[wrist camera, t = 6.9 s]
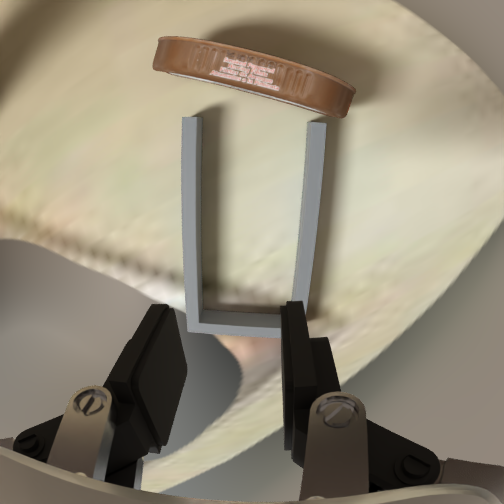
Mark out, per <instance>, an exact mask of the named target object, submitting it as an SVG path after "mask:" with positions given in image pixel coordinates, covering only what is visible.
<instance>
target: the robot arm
mask: <svg viewBox="0 0 504 504" xmlns="http://www.w3.org/2000/svg"><path fill="white" fill-rule="evenodd" d="M280 312H281V363H282V393H283V421H284V450H291V458H292V459H293V462H295V463H296V464H297V465H299V466H300V467H302V468H303V475H302V483H301V490H300V496H299V501H289V502H238V501H219V500H206V499H196V498H187V497H178V496H172V495H165V494H159V493H153V492H147V491H142V490H141V482H142V473H143V464H144V456H145V455H147V454H148V452H150V453H157V454H160V450H161V447H162V446H166V444H167V442H168V439H169V435H170V432H171V428H172V425H173V421H174V418H175V414H176V411H177V407H178V404H179V400H180V397H181V393H182V390H183V387H184V383H185V380H186V376H187V363H186V360H185V355H184V351H183V347H182V343H181V338H180V334H179V329H178V325H177V320H176V315H175V311H174V309H173V308H169V306H168V305H167V304H152V305H151V306H150V308H149V309H148V311H147V313H146V315H145V316H144V318H143V320H142V321H141V323H140V325H139V327H138V328H137V330H136V332H135V334H134V335H133V337H132V339H130V340H129V341H128V342H127V344H126V346H125V347H124V349H123V351H122V353H121V355H120V356H119V358H118V360H117V362H116V363H115V365H114V367H113V369H112V371H111V372H110V374H109V376H108V378H107V380H106V382H105V383H104V385H103V387H102V386H96V385H95V386H88V387H84V388H82V389H80V390H78V391H77V392H76V393H75V394H73V396H72V397H71V399H70V400H69V403H68V405H67V408H66V410H65V413H64V414H63V415H61V416H58V417H56V418H53V419H51V420H49V421H47V422H44V423H42V424H39V425H37V426H34V427H32V428H29V429H27V430H25V431H23V432H21V433H20V434H19V435H18V436H17V437H16V439H14V438H13V437H11V438H5V439H0V504H504V467H503V466H500V465H491V464H484V463H477V462H470V461H464V460H458V459H453V458H447V460H446V461H444V460H439V459H438V457H437V456H436V455H435V454H434V453H433V452H432V451H430V450H429V449H427V448H425V447H423V446H420V445H419V444H416V443H414V442H412V441H410V440H408V439H406V438H404V437H402V436H400V435H398V434H395V433H393V432H391V431H389V430H387V429H385V428H383V427H381V426H379V425H377V424H375V423H373V422H372V421H370V420H368V419H366V410H365V406H364V404H363V403H362V402H361V400H360V399H358V398H357V397H356V396H354V395H352V394H349V393H345V392H341V389H340V385H339V380H338V376H337V372H336V368H335V363H334V359H333V355H332V351H331V347H330V343H329V340H328V338H327V337H320V338H309V332H308V327H307V321H306V315H305V310H304V304H303V301H287V302H286V306H280Z"/></svg>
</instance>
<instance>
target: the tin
mask: <svg viewBox="0 0 504 504" xmlns="http://www.w3.org/2000/svg"><path fill="white" fill-rule="evenodd" d="M158 42H159V43H158V47H157V50H156V54H155V57H154V61H153V69H154V70H156V71H162V72H166V73H168V74H171V75H175V76H180V77H185V78H190V79H194V80H199V81H204V82H208V83H213V84H217V85H221V86H225V87H229V88H233V89H237V90H240V91H244V92H248V93H252V94H255V95H259V96H263V97H266V98H270V99H273V100H277V101H281V102H284V103H288V104H291V105H294V106H298V107H301V108H304V109H307V110H311V111H314V112H317V113H320V114H323V115H327V116H333V117H337V118H344V117H346V115H347V113H348V110H349V107H350V104H351V101H352V98H353V95H354V94H355V93H356V89H355V88H354V87H353V86H351V85H350V84H348V83H347V82H345V81H343V80H341V79H339V78H337V77H335V76H332V75H330V74H327V73H325V72H323V71H320V70H317V69H314V68H312V67H309V66H306V65H303V64H299V63H296V62H293V61H290V60H286V59H283V58H280V57H276V56H273V55H269V54H265V53H261V52H257V51H253V50H249V49H245V48H241V47H236V46H232V45H228V44H223V43H217V42H213V41H208V40H202V39H196V38H189V37H177V36H167V37H161V38H159V39H158Z"/></svg>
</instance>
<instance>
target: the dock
mask: <svg viewBox="0 0 504 504" xmlns="http://www.w3.org/2000/svg"><path fill="white" fill-rule="evenodd" d="M202 125H203V118H202V117H182V152H181V194H182V239H183V265H184V284H185V301H186V316H187V328H188V329H187V330H188V332H197V333H207V334H220V335H233V336H249V337H267V338H281V314H262V313H245V312H229V311H215V310H203V291H202V244H201V170H202ZM325 138H326V123H319V122H307V138H306V152H305V166H304V179H303V191H302V203H301V214H300V225H299V236H298V246H297V256H296V265H295V274H294V283H293V292H292V300H291V301H303V304H304V310H305V315H306V310H307V303H308V296H309V289H310V282H311V274H312V267H313V259H314V251H315V243H316V234H317V225H318V216H319V207H320V197H321V186H322V175H323V164H324V151H325Z"/></svg>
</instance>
